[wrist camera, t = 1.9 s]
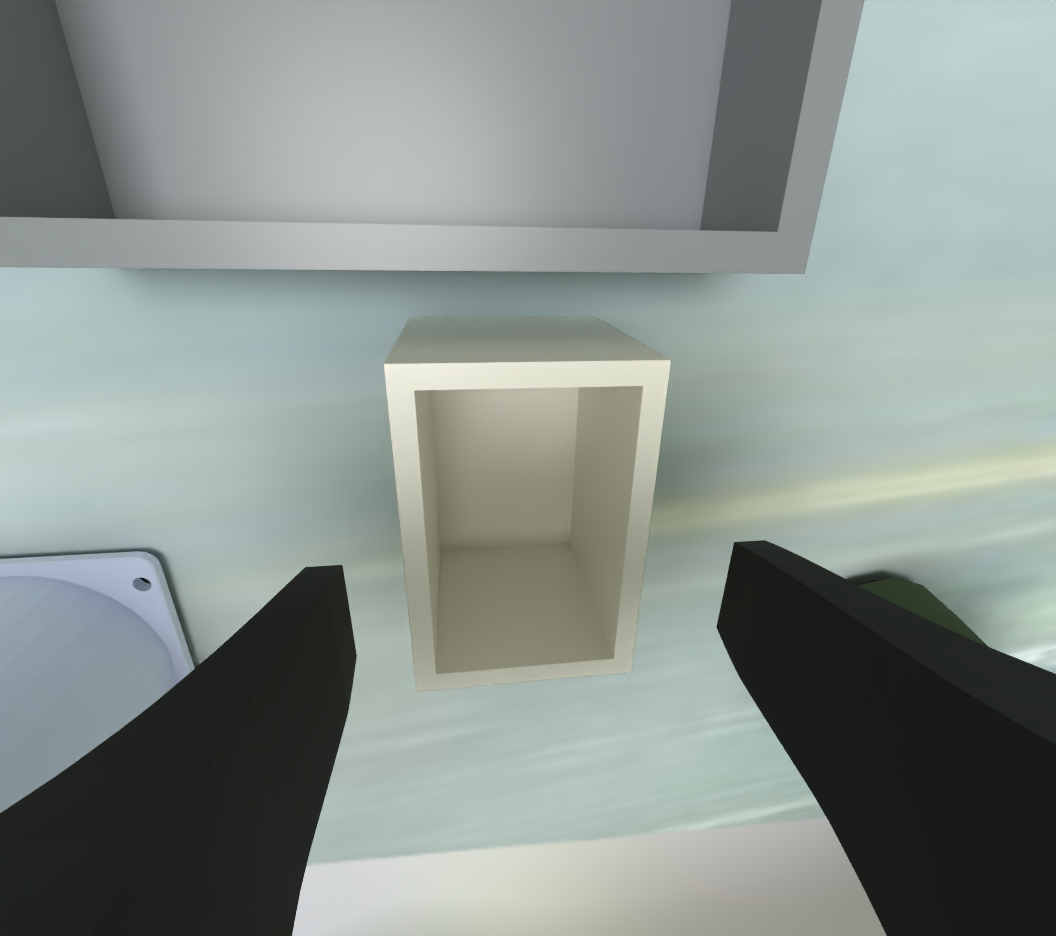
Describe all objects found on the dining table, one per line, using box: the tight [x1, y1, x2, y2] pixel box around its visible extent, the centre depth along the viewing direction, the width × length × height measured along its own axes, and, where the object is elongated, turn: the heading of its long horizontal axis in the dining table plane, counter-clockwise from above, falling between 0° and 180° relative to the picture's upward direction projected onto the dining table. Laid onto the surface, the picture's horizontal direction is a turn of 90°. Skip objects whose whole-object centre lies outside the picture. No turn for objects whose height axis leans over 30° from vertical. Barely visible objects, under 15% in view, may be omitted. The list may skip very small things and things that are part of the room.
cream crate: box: [384, 317, 671, 692], centre depth 14 cm, size 8×5×6 cm
